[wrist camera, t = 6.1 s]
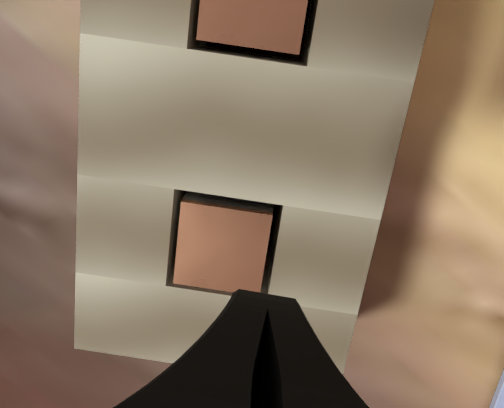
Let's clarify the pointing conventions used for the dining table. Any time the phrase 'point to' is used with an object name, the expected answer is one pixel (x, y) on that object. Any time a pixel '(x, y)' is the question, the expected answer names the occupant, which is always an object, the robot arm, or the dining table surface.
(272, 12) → the near peg
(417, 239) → the dining table surface
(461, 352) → the dining table surface
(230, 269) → the far peg
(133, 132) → the socket board
